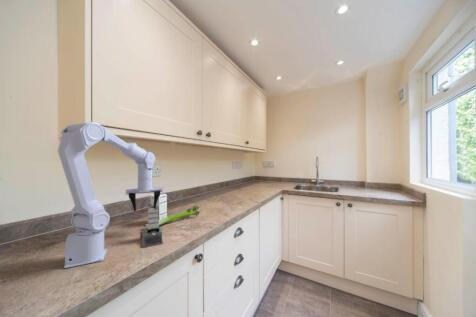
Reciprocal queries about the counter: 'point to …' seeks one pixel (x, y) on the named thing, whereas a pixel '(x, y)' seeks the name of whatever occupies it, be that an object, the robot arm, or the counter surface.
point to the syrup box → (160, 205)
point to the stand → (151, 237)
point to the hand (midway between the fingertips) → (144, 209)
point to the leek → (178, 216)
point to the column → (153, 218)
